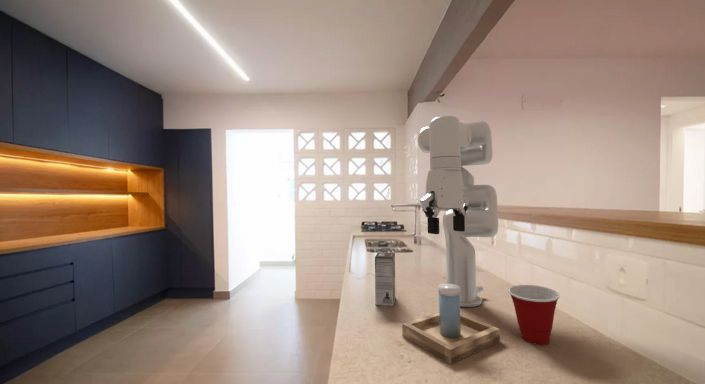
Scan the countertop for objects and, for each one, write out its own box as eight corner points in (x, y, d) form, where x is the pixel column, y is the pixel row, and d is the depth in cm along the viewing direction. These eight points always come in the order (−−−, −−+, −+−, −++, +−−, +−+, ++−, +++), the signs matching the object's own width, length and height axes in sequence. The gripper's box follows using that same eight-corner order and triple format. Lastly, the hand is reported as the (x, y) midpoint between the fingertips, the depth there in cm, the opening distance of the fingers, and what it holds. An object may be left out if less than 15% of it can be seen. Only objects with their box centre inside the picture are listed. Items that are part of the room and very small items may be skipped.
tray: (449, 319, 81) (449, 309, 81) (499, 341, 68) (499, 328, 68) (402, 335, 71) (402, 323, 71) (450, 364, 58) (450, 349, 58)
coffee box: (377, 296, 101) (377, 251, 102) (395, 297, 100) (395, 252, 101) (374, 305, 92) (374, 256, 93) (394, 306, 91) (393, 257, 92)
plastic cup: (499, 334, 72) (497, 286, 72) (528, 326, 76) (526, 282, 76) (541, 355, 61) (539, 300, 62) (572, 345, 65) (570, 294, 66)
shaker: (448, 327, 73) (447, 282, 73) (465, 334, 69) (464, 287, 69) (434, 332, 70) (433, 285, 71) (451, 340, 66) (450, 291, 66)
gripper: (454, 168, 79) (456, 229, 79) (410, 165, 70) (411, 233, 70) (478, 165, 73) (480, 231, 72) (433, 161, 64) (434, 236, 63)
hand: (446, 232), depth 71 cm, fingers open, 9 cm apart
